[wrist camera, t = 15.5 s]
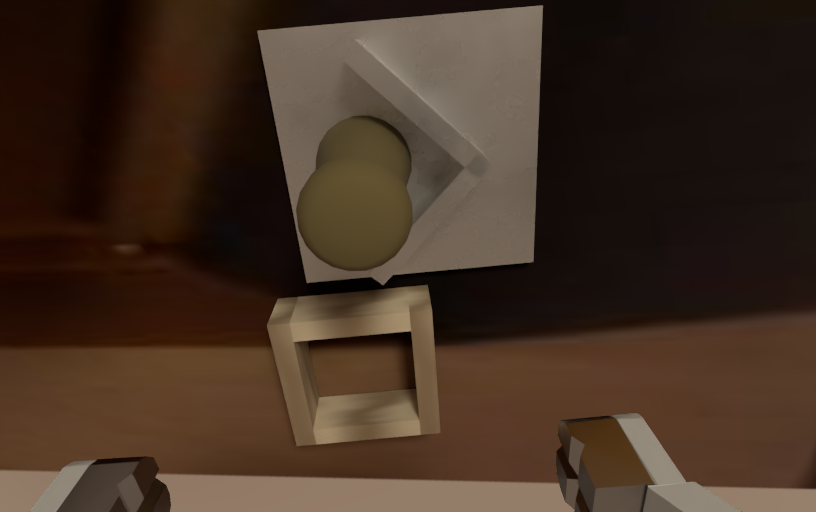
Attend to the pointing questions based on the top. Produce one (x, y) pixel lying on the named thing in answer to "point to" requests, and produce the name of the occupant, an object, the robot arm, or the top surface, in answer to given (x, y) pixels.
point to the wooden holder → (350, 318)
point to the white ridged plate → (423, 125)
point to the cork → (357, 195)
